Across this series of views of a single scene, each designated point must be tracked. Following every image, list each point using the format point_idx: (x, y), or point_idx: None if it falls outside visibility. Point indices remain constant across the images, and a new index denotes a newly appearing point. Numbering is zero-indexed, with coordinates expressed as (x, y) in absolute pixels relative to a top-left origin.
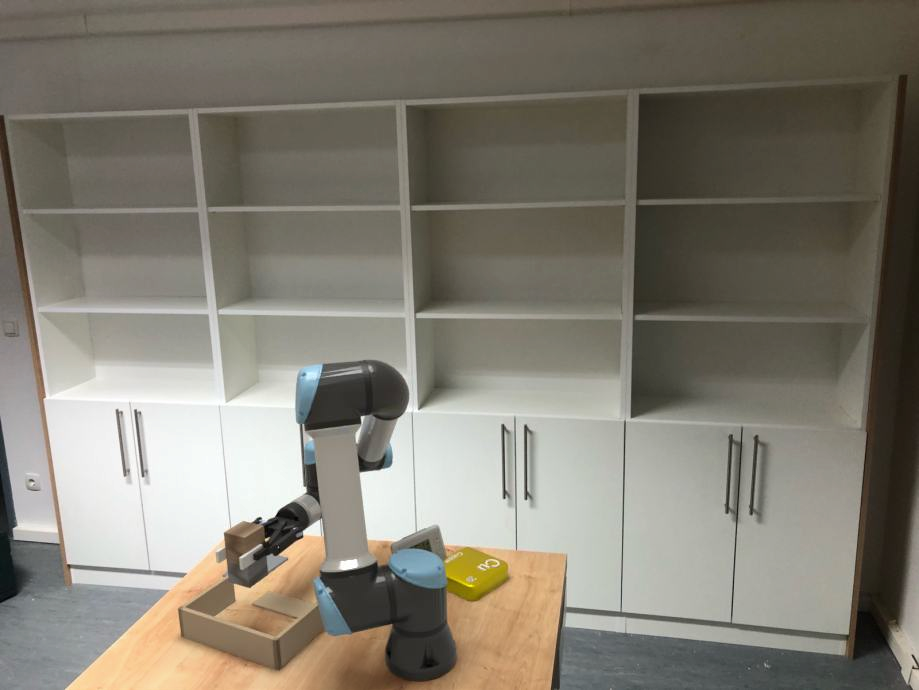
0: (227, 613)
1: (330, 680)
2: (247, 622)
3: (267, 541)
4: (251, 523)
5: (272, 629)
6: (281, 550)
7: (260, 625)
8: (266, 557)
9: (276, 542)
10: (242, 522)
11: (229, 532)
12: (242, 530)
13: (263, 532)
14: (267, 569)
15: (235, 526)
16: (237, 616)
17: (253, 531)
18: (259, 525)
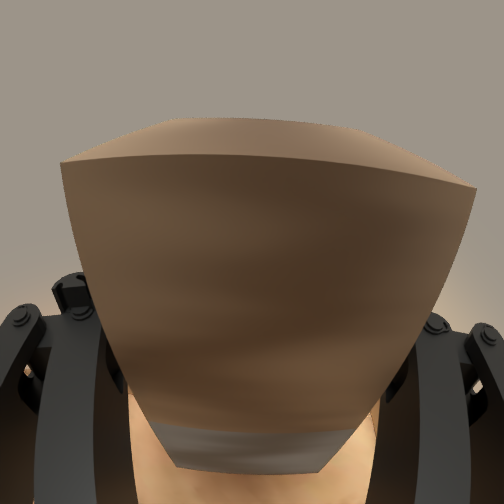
0: (364, 494)
1: (29, 372)
2: (285, 496)
3: (63, 287)
4: (308, 156)
5: (198, 494)
6: (20, 394)
7: (241, 499)
8: (152, 426)
9: (12, 345)
10: (436, 172)
11: (327, 125)
12: (263, 126)
13: (86, 244)
14: (171, 457)
15: (386, 144)
16: (331, 500)
17: (148, 129)
18: (127, 151)
